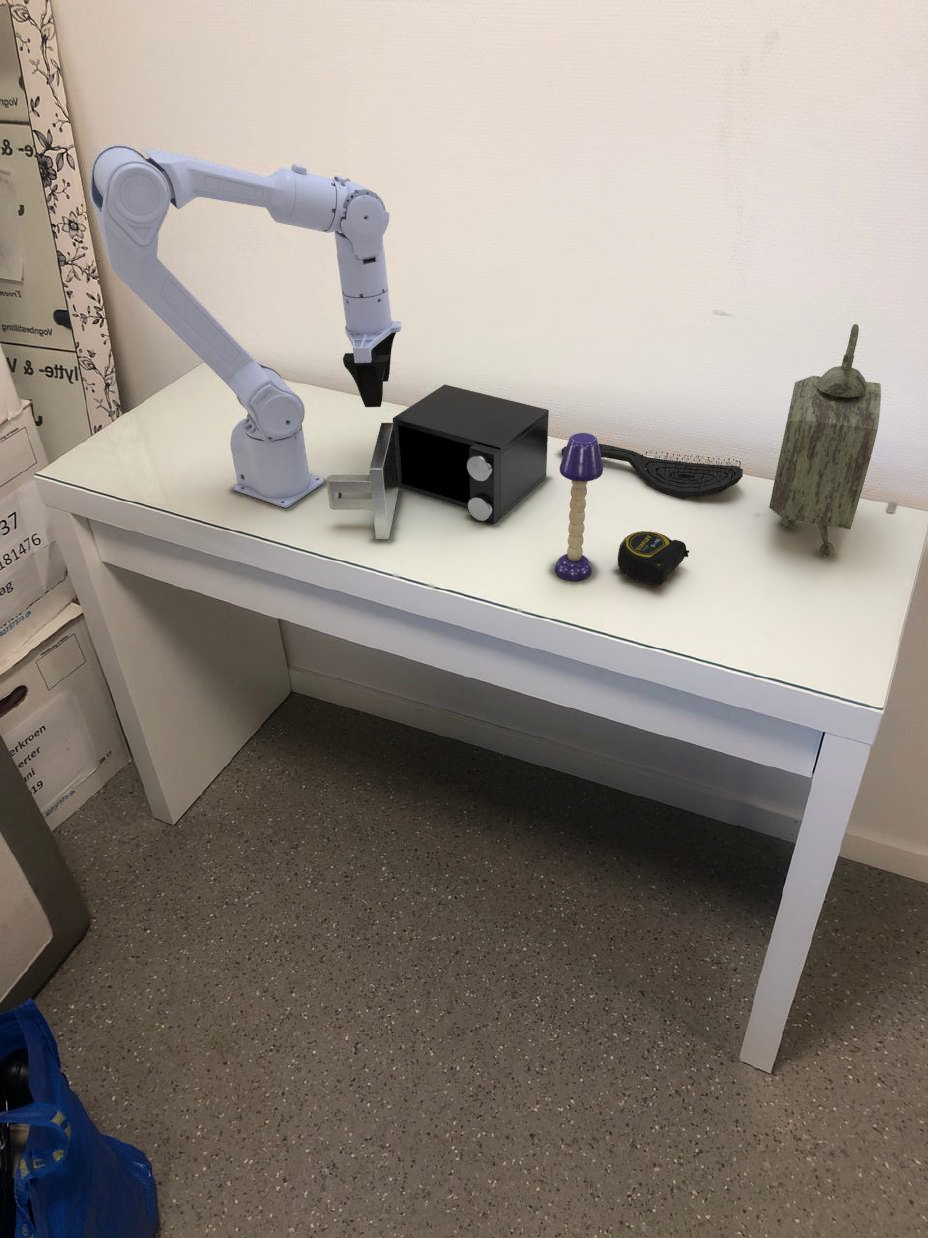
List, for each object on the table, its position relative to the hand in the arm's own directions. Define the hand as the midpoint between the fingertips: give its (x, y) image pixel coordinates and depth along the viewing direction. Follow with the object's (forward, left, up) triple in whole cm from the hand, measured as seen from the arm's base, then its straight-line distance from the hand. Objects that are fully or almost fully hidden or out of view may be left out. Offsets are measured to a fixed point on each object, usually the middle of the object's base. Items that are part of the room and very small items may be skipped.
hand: (377, 393), depth 121 cm
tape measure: (+43, -5, -11) cm, 44 cm away
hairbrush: (+33, +16, -11) cm, 38 cm away
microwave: (+14, 0, -10) cm, 17 cm away
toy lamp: (+35, -9, -11) cm, 37 cm away
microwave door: (+6, -12, -10) cm, 17 cm away
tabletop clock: (+55, +13, -11) cm, 57 cm away
